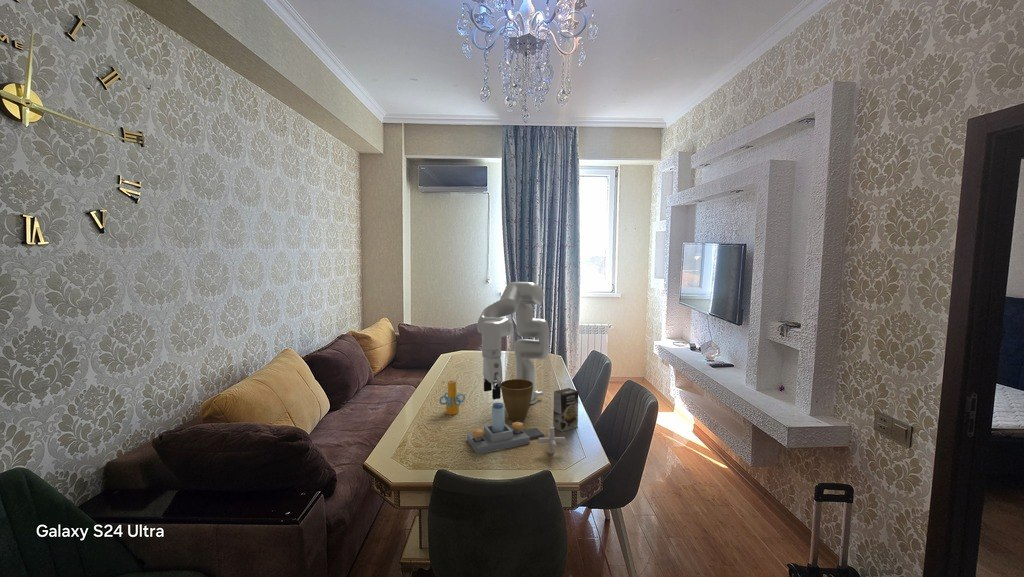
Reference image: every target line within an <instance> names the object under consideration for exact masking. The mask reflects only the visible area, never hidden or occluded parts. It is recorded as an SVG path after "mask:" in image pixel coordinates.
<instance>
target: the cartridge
mask: <svg viewBox="0 0 1024 577" xmlns="http://www.w3.org/2000/svg"><path fill="white" fill-rule="evenodd" d="M504 423H505V405H504V402H494V403H493V404H492V406H491V425H492V433H499V432H504Z"/></svg>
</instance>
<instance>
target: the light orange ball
mask: <svg viewBox="0 0 1024 577" xmlns="http://www.w3.org/2000/svg"><path fill="white" fill-rule="evenodd" d="M523 424H524V423H523V422H520V421H514V422H512V423H511V426H512V429H514V434H515V435H516V434H521V430H523V429H524V425H523Z"/></svg>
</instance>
